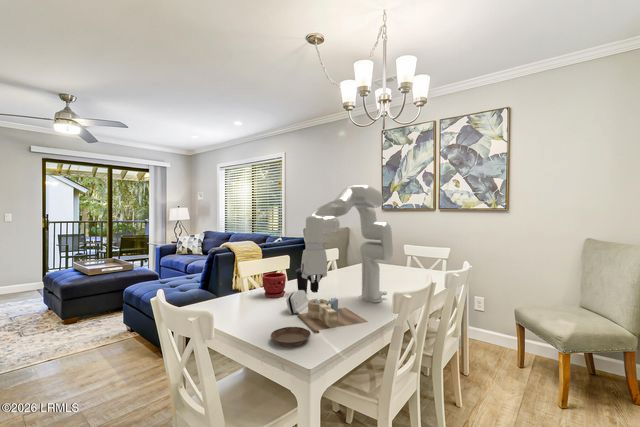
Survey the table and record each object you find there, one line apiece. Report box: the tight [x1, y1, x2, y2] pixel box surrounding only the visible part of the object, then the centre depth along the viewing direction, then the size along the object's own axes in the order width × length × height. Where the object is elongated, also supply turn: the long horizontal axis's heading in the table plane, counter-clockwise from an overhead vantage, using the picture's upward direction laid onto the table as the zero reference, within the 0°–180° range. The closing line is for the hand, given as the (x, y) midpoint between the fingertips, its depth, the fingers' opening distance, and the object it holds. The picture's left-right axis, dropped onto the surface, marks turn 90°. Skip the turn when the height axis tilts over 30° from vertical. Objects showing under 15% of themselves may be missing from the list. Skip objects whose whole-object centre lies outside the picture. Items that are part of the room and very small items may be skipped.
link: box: [307, 298, 337, 328], centre depth 135 cm, size 20×9×6 cm, turn 23°
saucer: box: [270, 326, 312, 348], centre depth 115 cm, size 15×15×3 cm
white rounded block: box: [285, 289, 309, 315], centre depth 151 cm, size 17×5×10 cm, turn 160°
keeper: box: [327, 297, 339, 316], centre depth 138 cm, size 5×5×8 cm
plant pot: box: [261, 272, 287, 299], centre depth 175 cm, size 13×13×12 cm
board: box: [297, 307, 369, 334], centre depth 136 cm, size 24×21×1 cm
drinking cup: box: [295, 267, 309, 295], centre depth 178 cm, size 8×8×20 cm
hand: (314, 291), depth 125 cm, fingers closed
